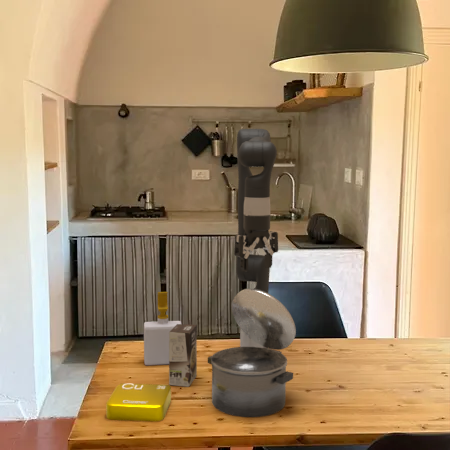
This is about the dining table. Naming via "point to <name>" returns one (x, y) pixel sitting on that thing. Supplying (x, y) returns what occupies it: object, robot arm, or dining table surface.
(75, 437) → the dining table surface
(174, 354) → the coffee box
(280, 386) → the cooker pot
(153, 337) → the soap bottle
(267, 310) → the cooker lid
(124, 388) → the element tile
